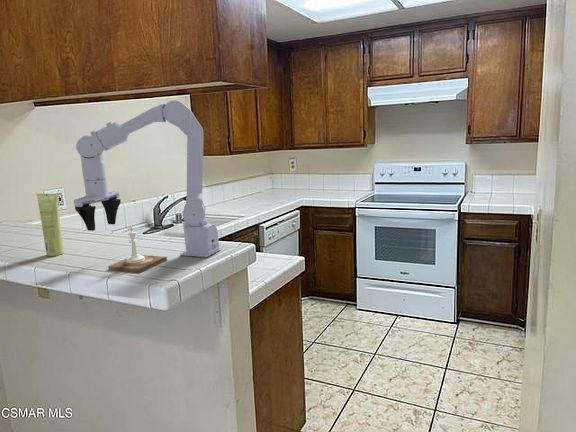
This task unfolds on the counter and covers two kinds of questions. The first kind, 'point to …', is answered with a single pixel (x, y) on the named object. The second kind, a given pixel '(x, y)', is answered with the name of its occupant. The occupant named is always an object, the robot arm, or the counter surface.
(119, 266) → the pedestal
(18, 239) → the counter surface
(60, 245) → the tube
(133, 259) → the chess piece
